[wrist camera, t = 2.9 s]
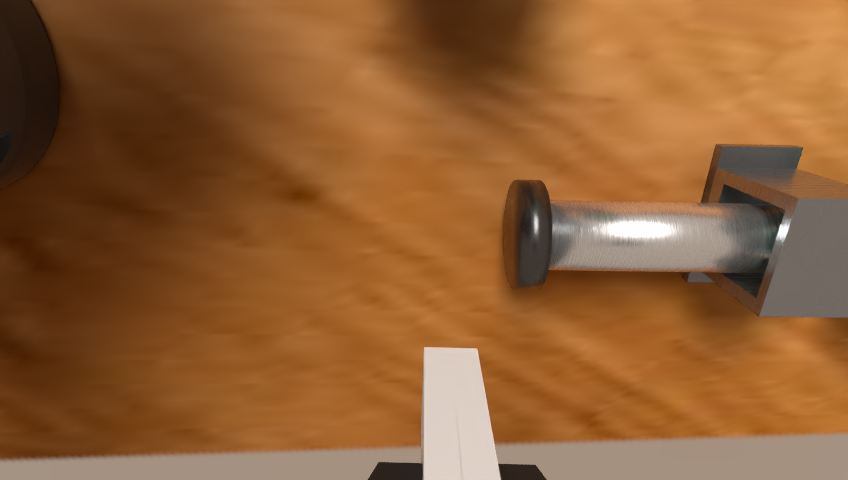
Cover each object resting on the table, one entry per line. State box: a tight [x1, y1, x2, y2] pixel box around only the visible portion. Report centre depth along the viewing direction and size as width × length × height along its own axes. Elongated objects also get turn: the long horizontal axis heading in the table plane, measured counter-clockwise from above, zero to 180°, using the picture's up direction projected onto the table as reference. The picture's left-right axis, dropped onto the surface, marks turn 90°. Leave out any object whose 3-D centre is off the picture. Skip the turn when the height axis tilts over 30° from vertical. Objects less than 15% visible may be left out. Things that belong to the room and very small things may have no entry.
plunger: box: [503, 180, 785, 289], centre depth 24 cm, size 17×6×6 cm, turn 89°
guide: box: [682, 144, 848, 318], centre depth 24 cm, size 4×8×7 cm, turn 179°
